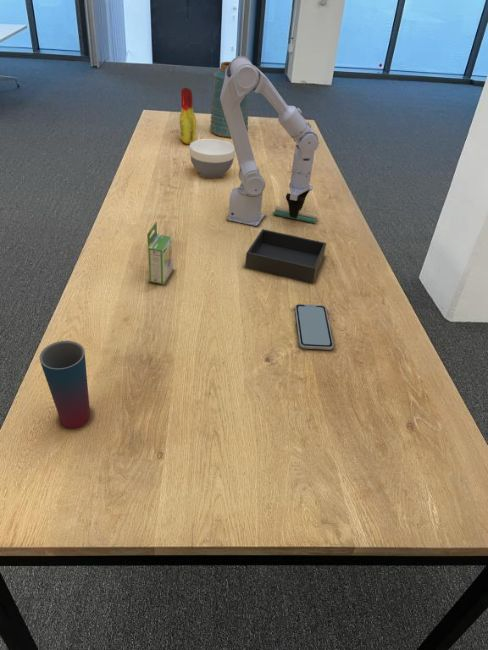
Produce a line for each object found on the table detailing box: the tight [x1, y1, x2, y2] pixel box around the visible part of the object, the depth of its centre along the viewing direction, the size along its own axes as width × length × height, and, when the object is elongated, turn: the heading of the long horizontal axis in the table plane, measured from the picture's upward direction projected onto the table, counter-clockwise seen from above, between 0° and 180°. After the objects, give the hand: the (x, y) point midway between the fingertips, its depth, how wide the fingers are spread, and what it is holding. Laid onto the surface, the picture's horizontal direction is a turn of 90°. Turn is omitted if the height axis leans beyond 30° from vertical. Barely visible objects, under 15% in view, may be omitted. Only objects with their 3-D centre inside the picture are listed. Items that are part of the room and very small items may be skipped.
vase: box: [209, 61, 249, 139], centre depth 208 cm, size 16×16×27 cm
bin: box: [244, 228, 327, 284], centre depth 134 cm, size 18×14×4 cm
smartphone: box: [294, 303, 334, 351], centre depth 113 cm, size 7×1×15 cm
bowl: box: [188, 138, 236, 179], centre depth 177 cm, size 16×16×10 cm
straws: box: [273, 205, 318, 224], centre depth 155 cm, size 13×3×3 cm, turn 72°
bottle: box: [179, 87, 197, 145], centre depth 198 cm, size 12×6×20 cm, turn 10°
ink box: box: [146, 221, 174, 286], centre depth 121 cm, size 7×4×13 cm, turn 168°
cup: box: [39, 340, 91, 429], centre depth 84 cm, size 7×7×15 cm
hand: (295, 213), depth 155 cm, fingers open, 5 cm apart
